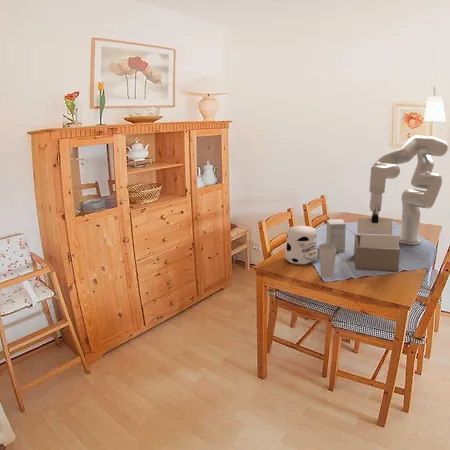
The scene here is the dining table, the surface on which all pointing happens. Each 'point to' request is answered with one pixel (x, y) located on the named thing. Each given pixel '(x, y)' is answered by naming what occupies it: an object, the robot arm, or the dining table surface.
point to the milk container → (301, 245)
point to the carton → (375, 258)
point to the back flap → (374, 226)
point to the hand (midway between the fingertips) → (374, 222)
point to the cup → (327, 259)
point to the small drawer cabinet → (336, 233)
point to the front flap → (379, 241)
